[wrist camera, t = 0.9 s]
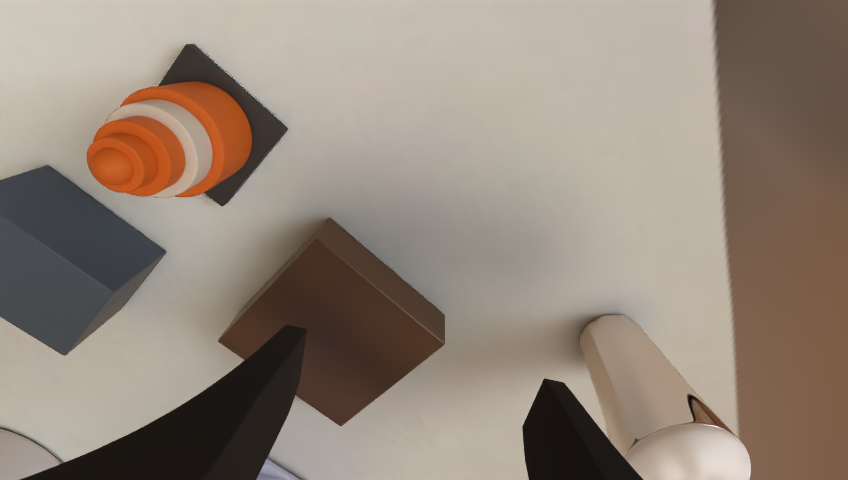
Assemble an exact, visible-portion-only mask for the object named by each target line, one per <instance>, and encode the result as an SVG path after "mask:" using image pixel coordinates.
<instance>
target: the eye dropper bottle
mask: <svg viewBox="0 0 848 480" xmlns="http://www.w3.org/2000/svg"><path fill="white" fill-rule="evenodd" d="M57 465H60V462H59V461H58V460H57V459H56V458H55V457H54V456H53V455H52V454H50V453H49V452H48V451H47V450H45V449H44V448H42V447H41V446H39V445H38V444H36V443H34V442H33V441H31V440H29V439H27V438H25V437H23V436H20V435H18V434H15V433H13V432H10V431H7V430H3V429H0V480H20V479H23V478H25V477H28V476H31V475H34V474H36V473H39V472H41V471H44V470H47V469H49V468H52V467H54V466H57Z"/></svg>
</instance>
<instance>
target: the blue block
mask: <svg viewBox="0 0 848 480" xmlns="http://www.w3.org/2000/svg"><path fill="white" fill-rule="evenodd" d="M165 254H166V251H164V250H163V249H162V248H160V247H159V246H158V245H156V244H155V243H153V242H152V241H151V240H149V239H148V238H147V237H145V236H144V235H143V234H141V233H140V232H138V231H137V230H136V229H134V228H133V227H132V226H130V225H129V224H127V223H126V222H125V221H123V220H122V219H121V218H119V217H118V216H116V215H115V214H114V213H112V212H111V211H110V210H108V209H107V208H106V207H104V206H103V205H101V204H100V203H99V202H97V201H96V200H95V199H93V198H92V197H90V196H89V195H88V194H86V193H85V192H84V191H82V190H81V189H79V188H78V187H77V186H75V185H74V184H73V183H71V182H70V181H68V180H67V179H66V178H64V177H63V176H62V175H60V174H59V173H58V172H56V171H55V170H53V169H52V168H51V167H49V166H44V167H41V168H38V169H34V170H31V171H28V172H25V173H22V174H19V175H15V176H12V177H9V178H6V179H3V180H0V317H2V318H3V319H5V320H6V321H8V322H10V323H11V324H13V325H15V326H16V327H18V328H19V329H21V330H23V331H24V332H26V333H28V334H29V335H31V336H33V337H34V338H36V339H37V340H39V341H41V342H42V343H44V344H46V345H47V346H49V347H50V348H52V349H54V350H55V351H57V352H59V353H60V354H62V355H64V356H65V355H67V354H68V353H69V352H70V351H71V350H73V349H74V348H75V347H76V346H77V345H79V344H80V343H81V342H82V341H83V340H85V339H86V338H87V337H88V336H89V335H91V334H92V333H93V332H94V331H95V330H97V329H98V328H99V327H100V326H101V325H103V324H104V323H105V322H106V321H107V320H109V319H110V318H111V317H112V316H113V315H115V314H116V313H117V312H118V311H119V310H121V309H122V307H123V306H124V305H125V304H126V302H127V301H128V300H129V299H130V297H131V296H132V295H133V294H134V292H135V291H136V290H137V289H138V287H139V286H140V285H141V284H142V282H143V281H144V280H145V279H146V277H147V276H148V275H149V274H150V272H151V271H152V270H153V269H154V267H155V266H156V265H157V264H158V262H159V261H160V260H161V259H162V257H163V256H164V255H165Z"/></svg>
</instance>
